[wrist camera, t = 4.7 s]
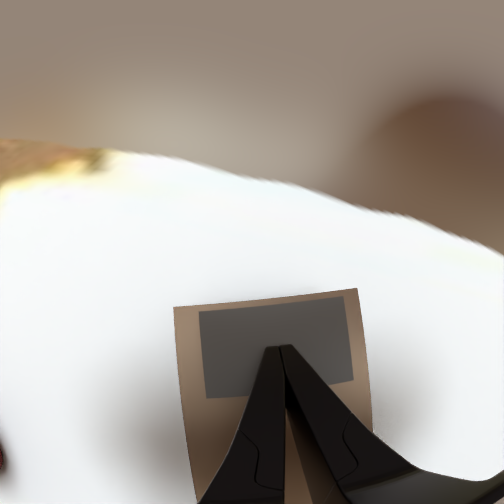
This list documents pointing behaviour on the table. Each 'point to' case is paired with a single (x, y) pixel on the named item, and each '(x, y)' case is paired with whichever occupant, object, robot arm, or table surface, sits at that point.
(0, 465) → the mug
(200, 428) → the plank
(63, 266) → the table surface
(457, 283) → the table surface
